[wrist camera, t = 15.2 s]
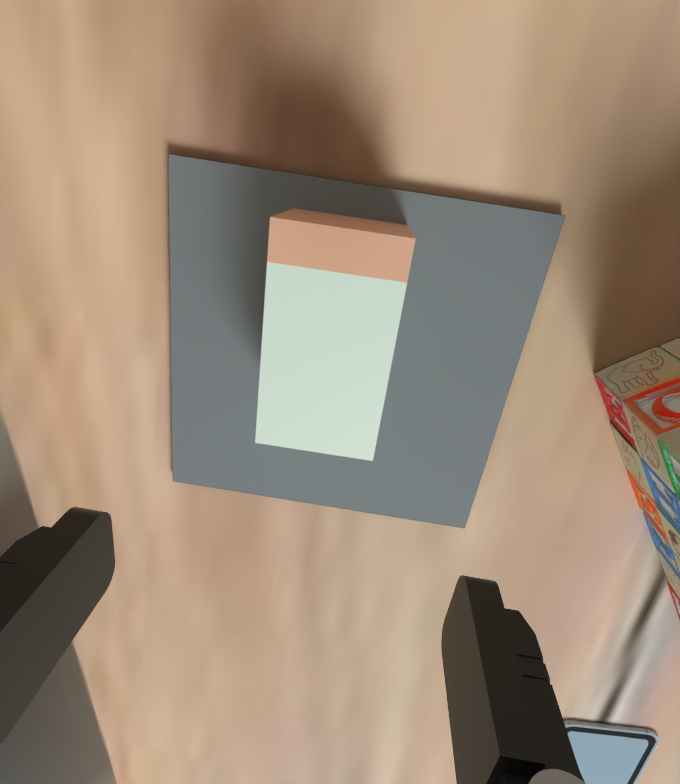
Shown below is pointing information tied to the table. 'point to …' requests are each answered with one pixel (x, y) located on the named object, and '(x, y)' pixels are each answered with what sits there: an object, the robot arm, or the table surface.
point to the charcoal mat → (411, 354)
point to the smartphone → (610, 751)
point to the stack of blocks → (651, 442)
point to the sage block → (329, 330)
